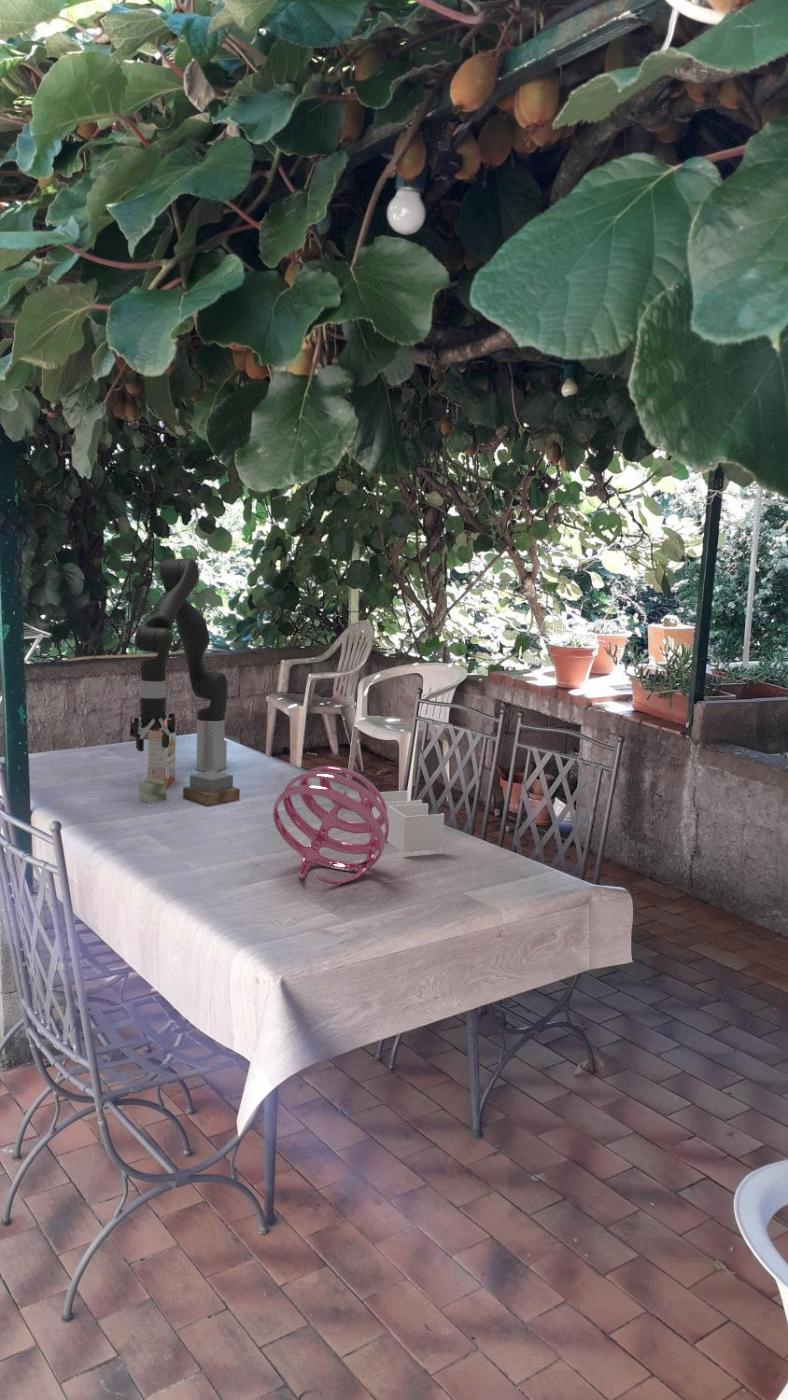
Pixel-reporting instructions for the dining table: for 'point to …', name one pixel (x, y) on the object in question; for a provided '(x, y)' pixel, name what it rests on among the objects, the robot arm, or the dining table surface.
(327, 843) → the spiral basket
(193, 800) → the bottom slab
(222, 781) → the top slab
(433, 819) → the storage container
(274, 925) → the dining table surface
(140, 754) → the dining table surface
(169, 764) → the cracker box
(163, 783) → the green cube
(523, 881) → the dining table surface
